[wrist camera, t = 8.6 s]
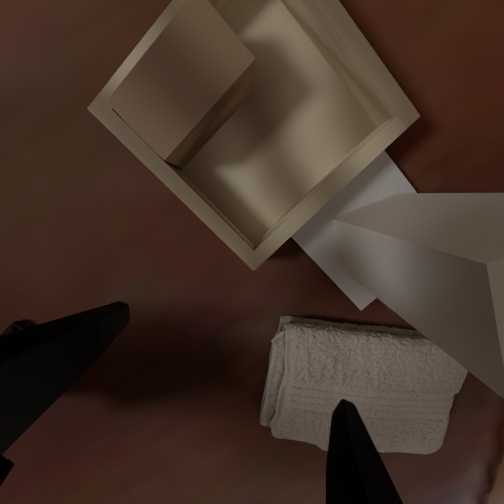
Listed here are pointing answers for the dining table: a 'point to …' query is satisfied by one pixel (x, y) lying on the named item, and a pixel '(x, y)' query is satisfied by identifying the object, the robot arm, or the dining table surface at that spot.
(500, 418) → the dining table surface
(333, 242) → the coaster
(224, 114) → the walnut box
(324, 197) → the tray
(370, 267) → the cream box
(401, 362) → the washcloth
